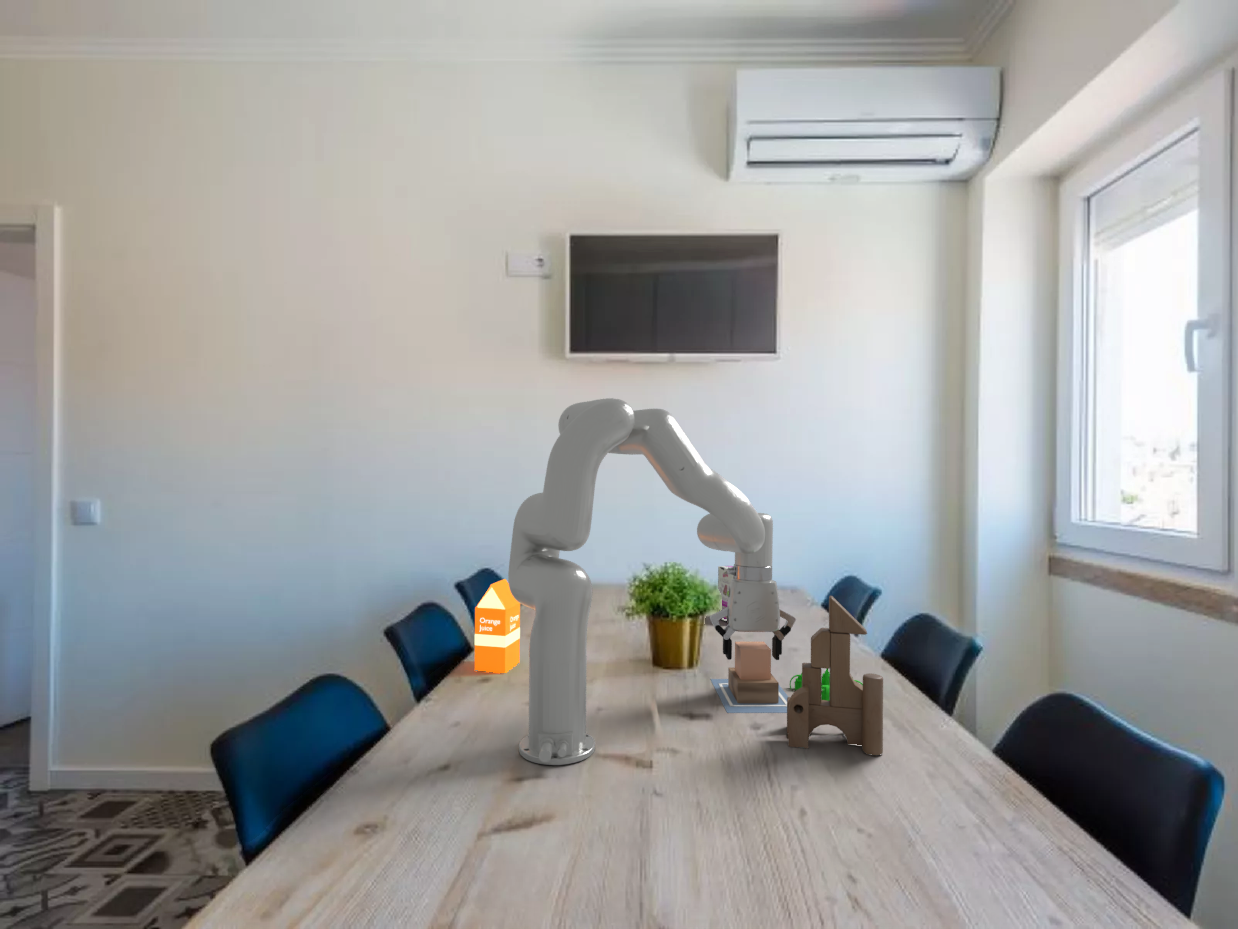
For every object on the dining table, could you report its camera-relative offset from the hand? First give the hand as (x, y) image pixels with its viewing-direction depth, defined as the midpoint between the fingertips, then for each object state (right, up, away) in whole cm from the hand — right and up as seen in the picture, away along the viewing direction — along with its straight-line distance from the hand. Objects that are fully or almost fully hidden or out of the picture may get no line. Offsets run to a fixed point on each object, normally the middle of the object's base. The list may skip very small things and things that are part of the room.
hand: (752, 658), depth 137 cm
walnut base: (0, -8, 0) cm, 8 cm away
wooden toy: (+10, -9, -22) cm, 25 cm away
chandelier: (+16, -9, +2) cm, 18 cm away
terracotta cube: (0, -4, 0) cm, 4 cm away
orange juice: (-55, -8, +21) cm, 60 cm away
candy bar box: (+7, -9, +68) cm, 69 cm away
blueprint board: (0, -9, 0) cm, 9 cm away
